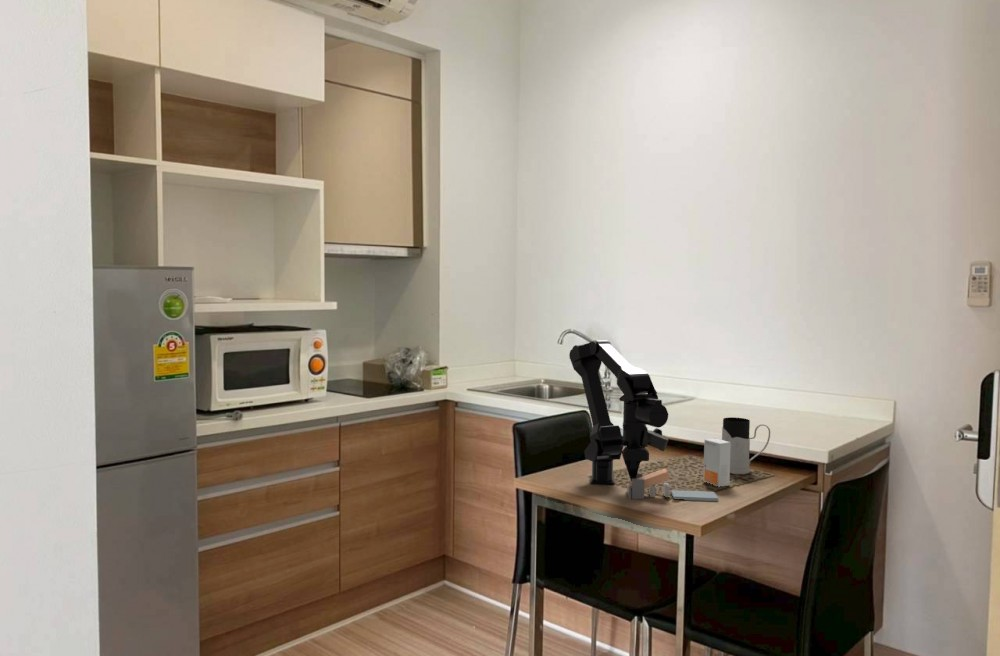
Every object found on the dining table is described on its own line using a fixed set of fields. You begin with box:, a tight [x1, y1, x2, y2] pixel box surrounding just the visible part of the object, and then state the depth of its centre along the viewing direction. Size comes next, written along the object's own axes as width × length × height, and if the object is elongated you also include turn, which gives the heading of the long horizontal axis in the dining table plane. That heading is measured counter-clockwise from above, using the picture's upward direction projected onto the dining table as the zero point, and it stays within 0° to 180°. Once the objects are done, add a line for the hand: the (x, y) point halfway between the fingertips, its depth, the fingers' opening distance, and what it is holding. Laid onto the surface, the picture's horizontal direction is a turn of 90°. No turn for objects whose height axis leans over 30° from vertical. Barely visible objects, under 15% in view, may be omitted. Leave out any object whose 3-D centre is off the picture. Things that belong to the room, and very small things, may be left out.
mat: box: [670, 489, 719, 502], centre depth 199 cm, size 6×11×1 cm, turn 84°
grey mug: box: [721, 416, 771, 475], centre depth 228 cm, size 9×14×15 cm, turn 87°
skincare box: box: [702, 437, 731, 488], centre depth 213 cm, size 6×4×12 cm
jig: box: [626, 472, 671, 500], centre depth 201 cm, size 7×10×5 cm
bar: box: [628, 468, 671, 489], centre depth 200 cm, size 4×10×2 cm, turn 84°
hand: (633, 480), depth 201 cm, fingers closed
